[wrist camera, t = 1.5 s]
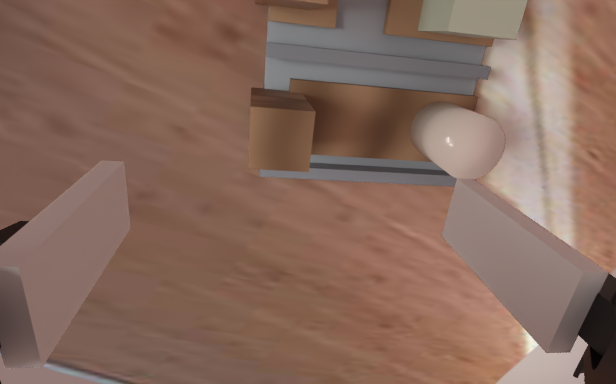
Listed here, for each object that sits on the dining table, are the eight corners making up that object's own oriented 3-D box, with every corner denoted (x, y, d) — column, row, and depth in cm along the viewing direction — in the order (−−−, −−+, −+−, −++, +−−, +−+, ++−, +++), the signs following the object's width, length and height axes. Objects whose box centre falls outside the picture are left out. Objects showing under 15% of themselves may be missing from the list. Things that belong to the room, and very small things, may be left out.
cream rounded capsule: (405, 153, 33) (434, 178, 27) (416, 98, 31) (451, 113, 26) (455, 157, 34) (493, 181, 28) (469, 103, 32) (514, 119, 26)
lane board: (248, 166, 33) (245, 210, 25) (260, -108, 26) (262, -172, 18) (444, 176, 36) (499, 219, 28) (508, -66, 29) (609, -103, 21)
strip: (248, 147, 32) (246, 183, 24) (252, 74, 29) (251, 89, 22) (455, 160, 35) (508, 195, 27) (473, 95, 32) (535, 114, 25)
